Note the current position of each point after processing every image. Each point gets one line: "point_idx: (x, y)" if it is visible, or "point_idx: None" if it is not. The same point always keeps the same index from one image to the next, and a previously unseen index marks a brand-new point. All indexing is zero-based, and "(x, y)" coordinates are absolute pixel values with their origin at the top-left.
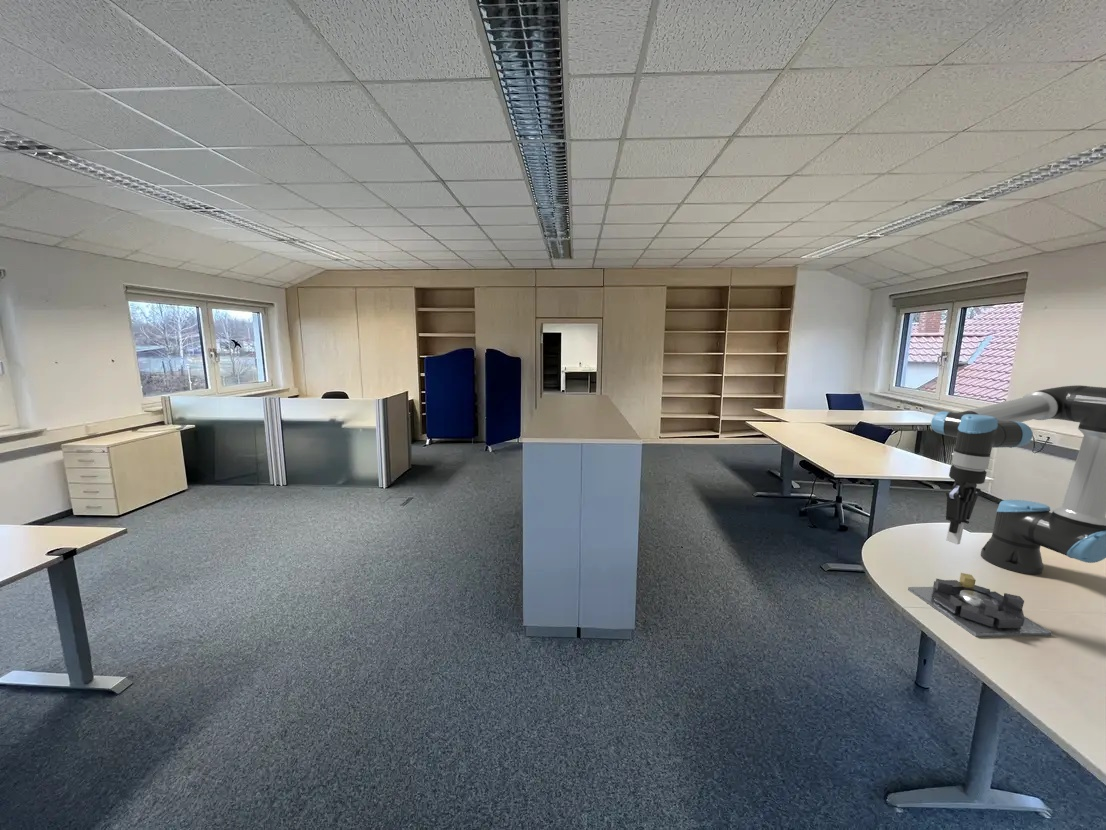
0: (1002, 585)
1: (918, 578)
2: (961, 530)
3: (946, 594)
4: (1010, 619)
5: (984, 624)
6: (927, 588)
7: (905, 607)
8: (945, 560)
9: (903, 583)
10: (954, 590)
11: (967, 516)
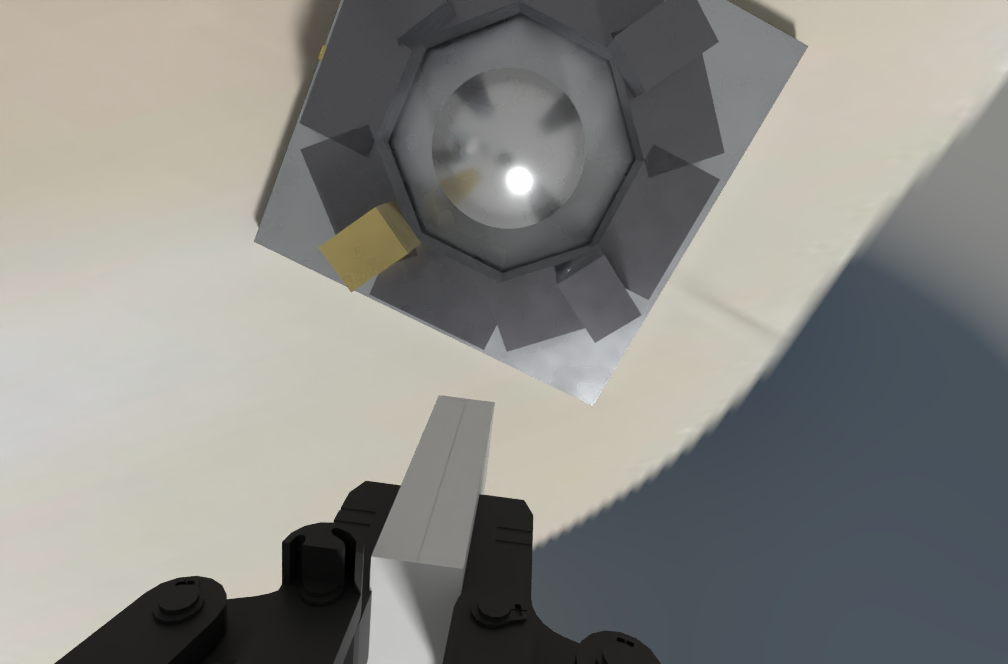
0: (41, 170)
1: (403, 418)
2: (439, 489)
3: (619, 258)
4: None
5: None
6: (515, 352)
7: (786, 339)
8: (49, 422)
9: (533, 434)
10: (468, 261)
11: (199, 648)
